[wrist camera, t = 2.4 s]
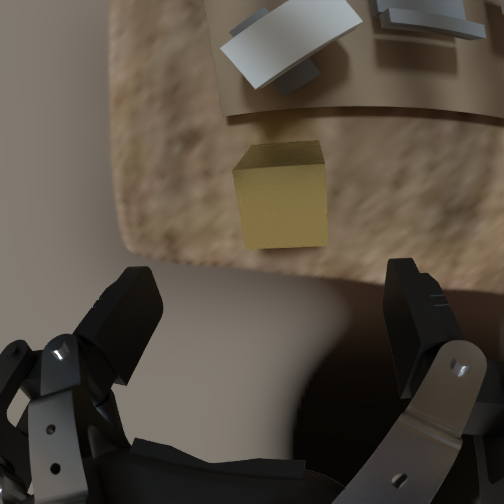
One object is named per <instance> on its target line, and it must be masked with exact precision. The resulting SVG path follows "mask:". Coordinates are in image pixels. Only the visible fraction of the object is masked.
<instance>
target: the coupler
mask: <svg viewBox="0 0 504 504" xmlns="http://www.w3.org/2000/svg"><path fill="white" fill-rule="evenodd" d="M233 177H234V183H235V189H236V195H237V201H238V207H239V213H240V218H241V224H242V230H243V236H244V242H245V248H246V249H266V248H291V247H317V246H328V216H327V192H326V173H325V162H324V158H323V154H322V150H321V146H320V142H319V140H313V141H296V142H282V143H270V144H259V145H252V146H251V147H250V148H249V150H248V151H247V152H246V153H245V155H244V156H243V157H242V159H241V160H240V161H239V163H238V164H237V165H236V167H235V168H234V169H233Z"/></svg>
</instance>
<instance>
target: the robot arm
mask: <svg viewBox="0 0 504 504" xmlns="http://www.w3.org/2000/svg"><path fill="white" fill-rule="evenodd" d="M162 314H163V302H162V298H161V296H160V293H159V290H158V288H157V285H156V282H155V279H154V277H153V274H152V271H151V270H150V268H149V267H147V266H138V267H127V268H126V269H125V270H124V272H123V273H122V274H121V276H120V277H119V278H118V280H117V281H116V282H114V283H113V284H111V285H110V286H109V287H108V288H106V290H105V291H104V292H103V293H102V295H101V296H100V297H99V300H97V301H96V302H95V304H94V305H93V308H91V309H90V310H89V312H88V313H87V314H86V316H85V317H84V318H83V320H82V321H81V322H80V324H79V325H78V327H77V328H76V329H75V331H74V332H73V334H61V335H59V336H56V337H55V338H53V339H52V340H51V341H49V342H48V343H47V345H46V346H45V348H44V349H43V350H37V351H32V350H31V349H30V347H29V346H28V344H27V343H26V341H24V340H16V341H14V342H12V343H10V344H9V345H8V346H7V347H6V348H5V349H4V350H3V351H2V353H1V354H0V504H429V503H430V502H431V500H432V498H433V497H434V495H435V494H436V492H437V490H438V489H439V487H440V485H441V483H442V482H443V480H444V478H445V477H446V475H447V473H448V471H449V469H450V468H451V466H452V464H453V462H454V460H455V458H456V456H457V454H458V452H459V450H460V447H461V444H462V441H463V439H462V438H461V434H462V433H463V434H473V435H474V441H475V447H476V455H477V463H478V472H479V484H480V501H481V504H504V362H500V361H492V360H487V359H486V358H485V356H484V354H483V352H482V351H481V350H480V349H479V348H478V347H477V346H476V345H474V344H472V343H470V342H467V341H465V340H464V337H463V335H462V332H461V330H460V328H459V325H458V323H457V321H456V319H455V316H454V314H453V312H452V310H451V308H450V306H448V301H447V299H446V297H445V296H444V293H443V291H442V289H441V287H440V285H439V283H438V282H437V281H436V280H435V279H434V278H433V277H432V276H430V275H429V274H428V273H419V271H418V269H417V266H416V264H415V262H414V260H413V259H412V258H396V259H389V260H388V264H387V272H386V280H385V287H384V294H383V315H384V320H385V324H386V329H387V333H388V338H389V342H390V347H391V351H392V356H393V361H394V366H395V371H396V377H397V382H398V389H399V394H400V399H404V398H411V397H412V401H411V402H410V404H409V406H408V407H407V409H406V410H405V411H404V412H403V413H402V414H401V415H400V417H399V418H398V420H397V421H396V423H395V424H394V426H393V427H392V429H391V430H390V431H389V433H388V434H387V436H386V437H385V438H384V440H383V441H382V443H381V444H380V445H379V447H378V448H377V449H376V451H375V452H374V454H373V455H372V456H371V457H370V459H369V460H368V461H367V462H366V464H365V465H364V466H363V467H362V469H361V470H360V471H359V472H358V474H357V475H356V476H355V477H354V479H353V480H352V481H351V482H350V483H349V484H348V485H347V487H346V488H345V487H344V486H342V485H341V484H339V483H338V482H336V481H335V480H333V479H331V478H329V477H327V476H324V475H321V474H319V473H316V472H312V471H309V470H305V460H279V459H262V458H257V459H249V460H241V461H234V462H223V463H208V462H205V461H203V460H200V459H198V458H196V457H194V456H191V455H189V454H187V453H185V452H182V451H180V450H178V449H176V448H174V447H172V446H169V445H164V444H159V443H155V442H151V441H147V440H143V439H139V438H135V439H134V441H133V444H132V446H131V444H130V443H129V441H128V440H127V438H126V436H125V433H124V430H123V427H122V422H121V419H120V415H119V411H118V407H117V403H116V399H115V395H114V393H113V391H112V389H111V387H112V385H113V383H115V384H120V385H125V386H127V384H128V382H129V380H130V378H131V376H132V374H133V372H134V370H135V368H136V366H137V364H138V362H139V360H140V358H141V356H142V354H143V352H144V350H145V348H146V346H147V344H148V342H149V340H150V338H151V336H152V334H153V333H154V331H155V329H156V327H157V325H158V323H159V321H160V319H161V317H162ZM19 388H20V389H21V390H22V391H23V392H24V393H25V394H26V395H27V397H28V398H29V399H30V401H29V403H28V405H27V407H26V409H25V410H24V412H23V414H22V416H21V418H20V420H19V422H18V424H17V426H16V427H14V426H13V425H12V424H11V423H10V422H9V421H8V419H7V409H8V407H9V405H10V403H11V401H12V400H13V398H14V396H15V394H16V393H17V391H18V389H19ZM31 481H32V483H33V490H34V494H33V495H31V494H29V493H27V492H28V489H29V487H30V484H31Z"/></svg>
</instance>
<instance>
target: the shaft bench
mask: <svg viewBox="0 0 504 504" xmlns="http://www.w3.org/2000/svg"><path fill="white" fill-rule="evenodd" d="M204 5H205V11H206V18H207V24H208V30H209V36H210V43H211V49H212V55H213V61H214V67H215V73H216V79H217V86H218V92H219V98H220V104H221V110H222V116H223V117H224V116H231V115H238V114H246V113H254V112H263V111H273V110H283V109H296V108H312V107H335V106H391V107H413V108H428V109H440V110H450V111H459V112H467V113H474V114H481V115H488V116H494V117H500V118H504V0H204Z"/></svg>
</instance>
